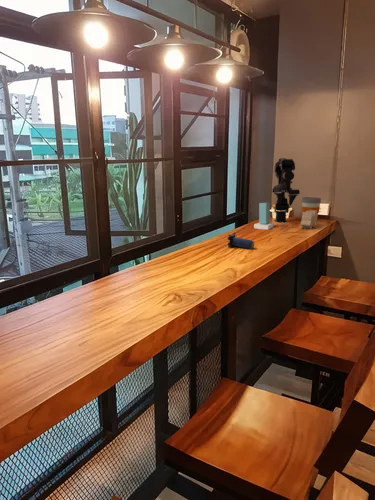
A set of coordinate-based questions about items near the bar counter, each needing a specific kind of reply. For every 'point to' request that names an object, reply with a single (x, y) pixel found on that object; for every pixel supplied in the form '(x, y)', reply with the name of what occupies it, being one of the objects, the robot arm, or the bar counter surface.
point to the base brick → (263, 226)
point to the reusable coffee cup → (311, 204)
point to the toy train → (309, 219)
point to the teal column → (264, 213)
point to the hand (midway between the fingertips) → (284, 204)
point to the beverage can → (240, 242)
